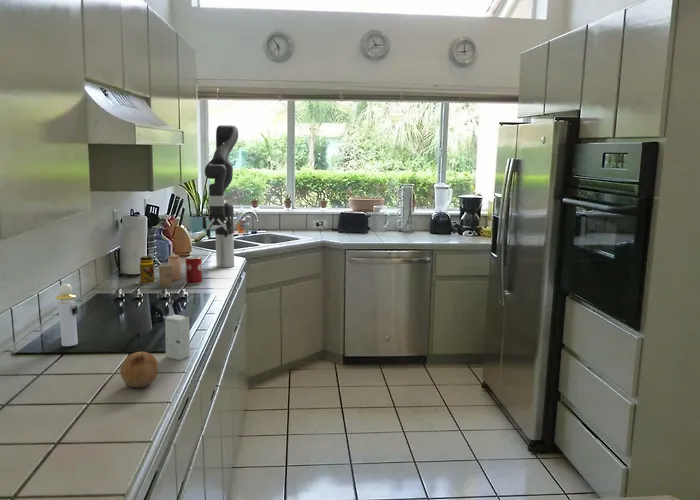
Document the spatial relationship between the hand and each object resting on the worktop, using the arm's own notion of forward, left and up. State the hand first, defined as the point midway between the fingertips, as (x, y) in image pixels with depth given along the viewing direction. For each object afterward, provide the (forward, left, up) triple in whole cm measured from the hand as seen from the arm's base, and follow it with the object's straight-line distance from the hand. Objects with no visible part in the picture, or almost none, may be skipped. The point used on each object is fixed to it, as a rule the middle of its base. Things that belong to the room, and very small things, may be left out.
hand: (217, 237), depth 302 cm
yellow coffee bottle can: (+28, -26, -18) cm, 42 cm away
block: (+34, -14, -17) cm, 40 cm away
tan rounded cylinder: (+20, -15, -17) cm, 30 cm away
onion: (+149, +23, -18) cm, 151 cm away
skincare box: (+126, +25, -18) cm, 130 cm away
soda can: (+28, -3, -18) cm, 33 cm away
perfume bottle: (+120, -12, -18) cm, 122 cm away
